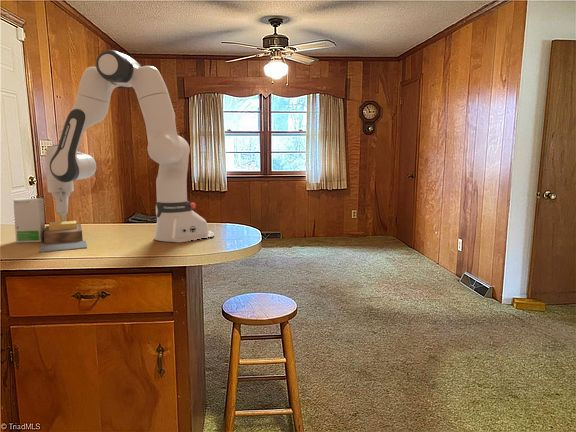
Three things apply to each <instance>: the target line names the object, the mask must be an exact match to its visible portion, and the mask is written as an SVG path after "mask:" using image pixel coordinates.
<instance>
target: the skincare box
mask: <svg viewBox="0 0 576 432" xmlns="http://www.w3.org/2000/svg"><path fill="white" fill-rule="evenodd" d="M44 206H45V204H44V198H39V197H36V198H35V197H34V198H33V197H30V198H29V197H28V198H27V197H20V198H15V199H13V213H14V216H13V217H14V229H15V230H14V231H15V243H16V244H17V243H19V244H20V243H41V242H43V241H44V231H45V228H46V225H45V222H46V221H45V207H44Z"/></svg>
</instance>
